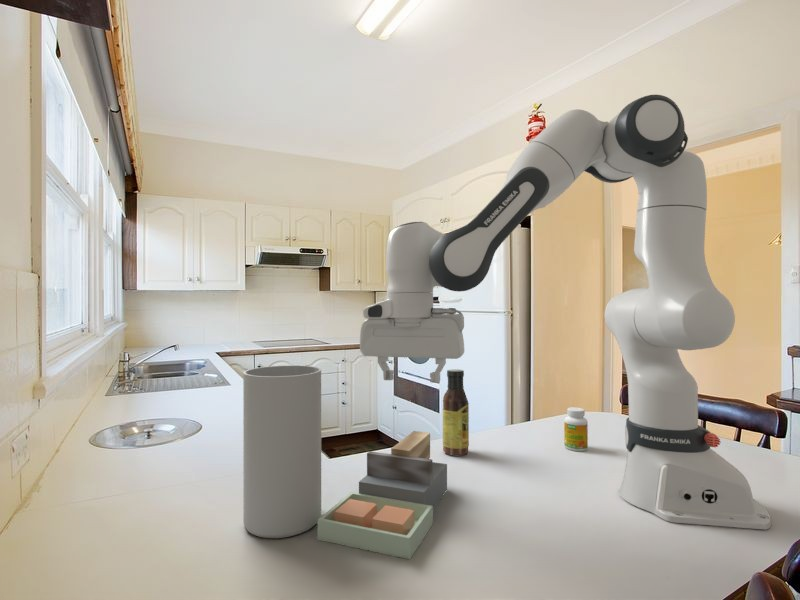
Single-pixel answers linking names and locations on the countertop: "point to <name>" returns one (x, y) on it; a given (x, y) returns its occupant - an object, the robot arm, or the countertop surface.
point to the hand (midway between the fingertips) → (411, 381)
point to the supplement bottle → (576, 430)
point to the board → (408, 487)
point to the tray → (373, 537)
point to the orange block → (356, 513)
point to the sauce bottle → (455, 415)
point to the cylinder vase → (281, 450)
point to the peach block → (394, 520)
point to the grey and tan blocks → (404, 460)
